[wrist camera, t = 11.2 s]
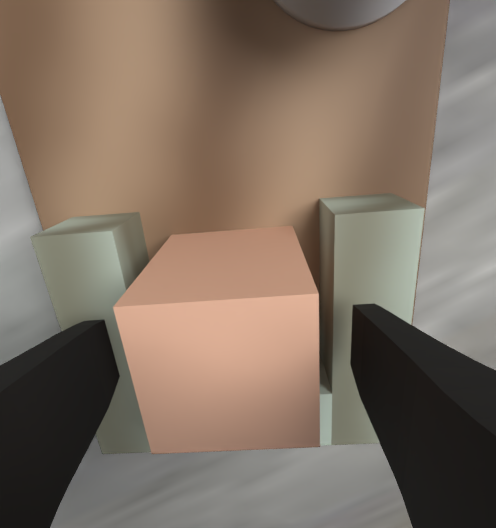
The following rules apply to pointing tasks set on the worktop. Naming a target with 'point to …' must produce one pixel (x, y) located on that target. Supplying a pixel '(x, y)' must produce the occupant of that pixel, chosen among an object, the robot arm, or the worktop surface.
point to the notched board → (227, 153)
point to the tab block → (225, 343)
